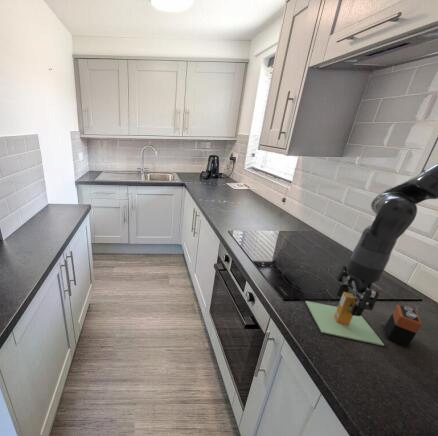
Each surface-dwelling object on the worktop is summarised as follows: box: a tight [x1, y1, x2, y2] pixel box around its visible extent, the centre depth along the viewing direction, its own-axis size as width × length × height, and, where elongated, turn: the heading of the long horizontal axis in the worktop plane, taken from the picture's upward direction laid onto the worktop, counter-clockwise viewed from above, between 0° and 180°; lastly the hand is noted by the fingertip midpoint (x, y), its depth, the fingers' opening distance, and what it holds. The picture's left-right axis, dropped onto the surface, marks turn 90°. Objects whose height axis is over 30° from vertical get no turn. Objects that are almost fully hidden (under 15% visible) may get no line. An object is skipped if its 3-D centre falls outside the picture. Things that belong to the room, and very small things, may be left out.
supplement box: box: [334, 292, 355, 325], centre depth 73 cm, size 3×4×10 cm
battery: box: [384, 304, 423, 347], centre depth 68 cm, size 4×7×10 cm, turn 141°
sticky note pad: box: [305, 300, 385, 347], centre depth 75 cm, size 16×14×1 cm
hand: (347, 305), depth 72 cm, fingers open, 8 cm apart
